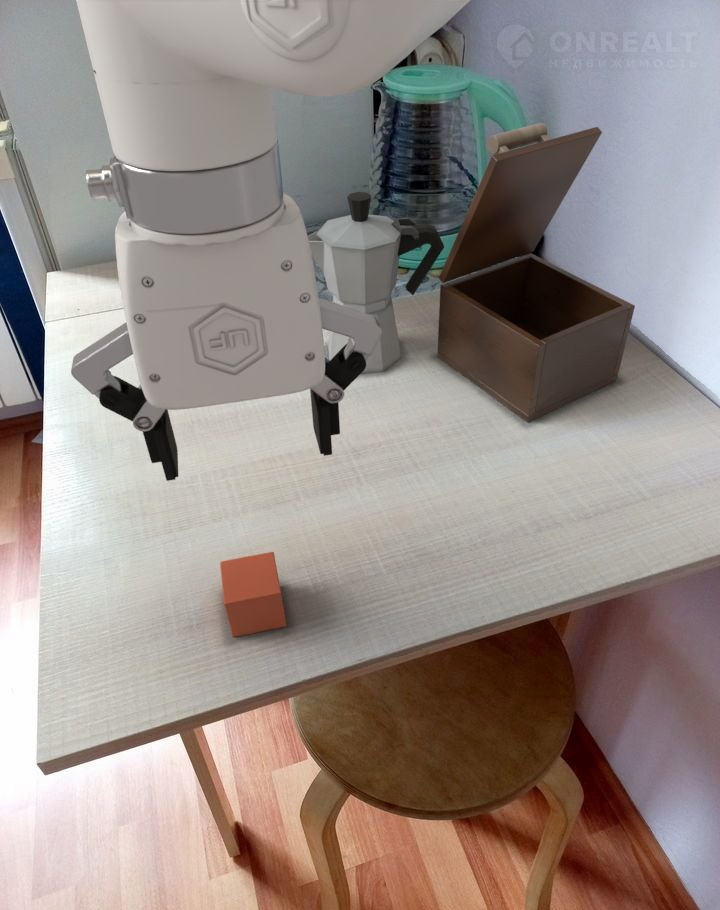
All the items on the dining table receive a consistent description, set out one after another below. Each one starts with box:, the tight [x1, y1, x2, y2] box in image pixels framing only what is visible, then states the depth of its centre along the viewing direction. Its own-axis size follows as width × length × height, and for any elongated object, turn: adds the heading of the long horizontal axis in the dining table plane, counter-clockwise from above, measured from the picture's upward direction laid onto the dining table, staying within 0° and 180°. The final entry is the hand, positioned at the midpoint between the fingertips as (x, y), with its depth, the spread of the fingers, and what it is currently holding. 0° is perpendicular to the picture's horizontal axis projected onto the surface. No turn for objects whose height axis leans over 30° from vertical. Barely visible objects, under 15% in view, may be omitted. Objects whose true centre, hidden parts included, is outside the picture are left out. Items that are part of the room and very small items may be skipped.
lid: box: [438, 122, 603, 284], centre depth 69 cm, size 15×13×5 cm
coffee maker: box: [307, 191, 445, 374], centre depth 74 cm, size 15×9×18 cm, turn 95°
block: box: [219, 551, 287, 638], centre depth 52 cm, size 4×4×4 cm
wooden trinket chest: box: [436, 252, 636, 423], centre depth 74 cm, size 15×13×9 cm
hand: (248, 453), depth 45 cm, fingers open, 9 cm apart
